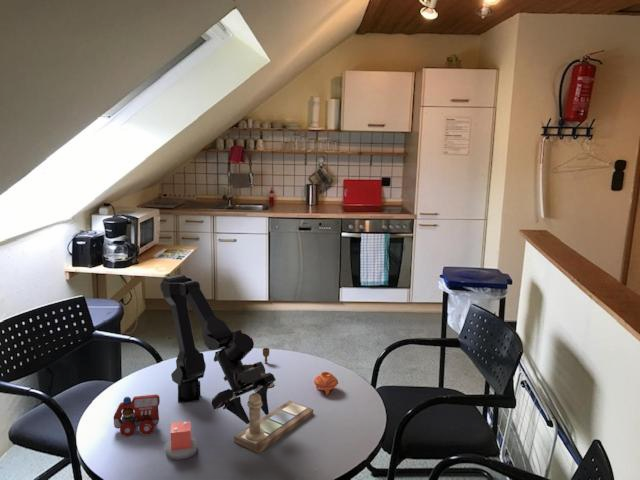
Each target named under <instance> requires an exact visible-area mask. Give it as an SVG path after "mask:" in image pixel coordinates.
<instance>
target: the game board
mask: <svg viewBox="0 0 640 480" xmlns="http://www.w3.org/2000/svg"><path fill="white" fill-rule="evenodd" d="M313 414H314V409H313V408H310V407H307V406H305V405H303V404H300V403H297V402H295V401H292V400H288V401H287V402H285V403H283V404H282V405H280V406H279V407H277V408H276V409H274V410H273V411H271V412H269V414H268V415H266V414H265V416H263V417H261V418H260V428H262V429H263V430H264V437H263V438H262V439H261V440H258V441H250V440H248V439H247V438H246V430H247V429H249V426H248V427H247V428H245V429H244V430H242V431H241V432H239V433H237V434H236V435H234V436H233V442H234V443H236V444H238V445H241V446H243V447H244V448H247V449H249V450H251V451H253V452H256V453H258V454H260V453H262V452H263V451H264V450H266V449H267V448H268V447H270V446H271V445H272V444H274V443H276V442H277V441H278V440H279V439H281V438H282V437H284V436H285V435H286V434H287V433H289V432H290V431H292V430H293V429H294V428H296V427H297V426H299V425H300V424H301V423H303V422H304V421H306V420H308V418H310V417H311V416H312V415H313Z"/></svg>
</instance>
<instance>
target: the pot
mask: <svg viewBox="0 0 640 480" xmlns="http://www.w3.org/2000/svg"><path fill="white" fill-rule="evenodd" d="M313 383H314V385H315V388H316V390H319V389H320V390H321V391H325V395H326V396H328V395H329V394H330V392H331V390H333V389H335V388H336V387H338V386H337V385H338V384H339V379H337V378H336V376H334V375H333V373H331V372H330V371H323V372H321V373H320V374H318V375H317V376H315V378H314V380H313Z"/></svg>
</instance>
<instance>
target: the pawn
mask: <svg viewBox="0 0 640 480" xmlns="http://www.w3.org/2000/svg"><path fill="white" fill-rule="evenodd" d="M246 404H247V407H248V408H249V409H248V410H249V413H248V414H249V415H248V416H249V417H248V419H249V422H250V423H249V424H248V425H249V426H248V427H249V429H247V428H246V429H247V430H246V438H247V439H248V440H250V441H258V440H261V439H262V438H263V437H264V430H263V429H262V428H260V419H261V406H262V401H261V396H260V395H259V394H258V393H255V392H252V393H251V394H250V395H249V397H248V401H247V403H246Z"/></svg>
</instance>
